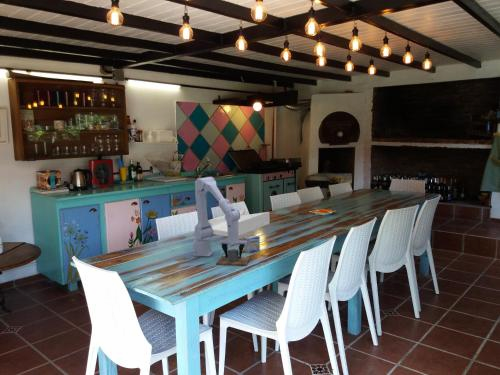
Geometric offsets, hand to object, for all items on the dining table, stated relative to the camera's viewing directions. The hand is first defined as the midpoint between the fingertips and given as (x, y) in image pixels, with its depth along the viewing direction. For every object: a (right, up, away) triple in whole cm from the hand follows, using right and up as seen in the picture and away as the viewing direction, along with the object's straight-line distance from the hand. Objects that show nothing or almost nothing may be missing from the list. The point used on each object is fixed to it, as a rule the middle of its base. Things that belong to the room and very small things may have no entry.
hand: (233, 257), depth 215 cm
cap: (0, -1, 0) cm, 1 cm away
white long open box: (+2, +8, +74) cm, 75 cm away
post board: (0, -2, 0) cm, 2 cm away
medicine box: (+10, 0, +19) cm, 21 cm away
